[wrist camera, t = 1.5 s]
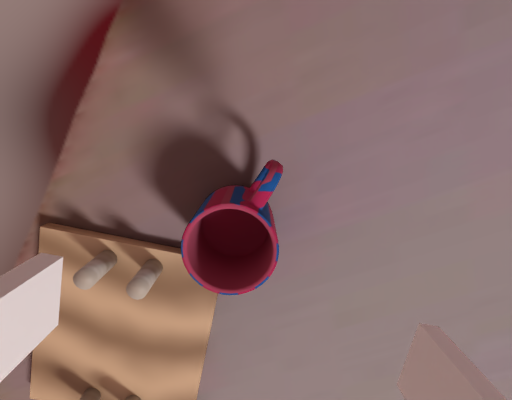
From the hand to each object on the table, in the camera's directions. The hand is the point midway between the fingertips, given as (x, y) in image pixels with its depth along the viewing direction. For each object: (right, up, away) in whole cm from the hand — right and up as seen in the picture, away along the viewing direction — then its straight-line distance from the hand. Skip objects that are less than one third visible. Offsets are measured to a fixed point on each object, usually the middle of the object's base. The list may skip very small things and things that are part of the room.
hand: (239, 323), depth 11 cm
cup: (0, +4, +16) cm, 17 cm away
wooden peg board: (-12, -8, +19) cm, 23 cm away
